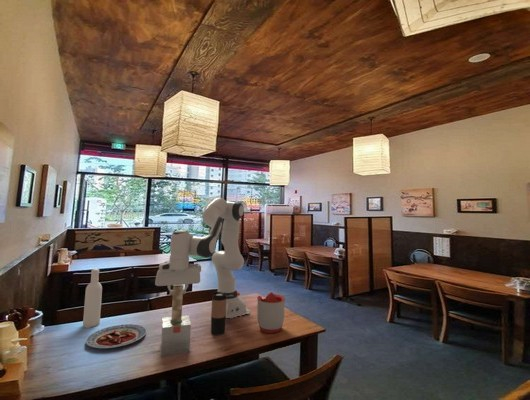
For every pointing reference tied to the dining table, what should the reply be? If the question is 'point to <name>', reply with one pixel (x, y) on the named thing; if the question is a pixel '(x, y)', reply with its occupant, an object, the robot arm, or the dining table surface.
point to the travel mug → (218, 313)
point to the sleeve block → (175, 336)
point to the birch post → (177, 304)
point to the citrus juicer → (270, 312)
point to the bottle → (92, 301)
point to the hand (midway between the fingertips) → (177, 294)
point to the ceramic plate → (116, 336)
